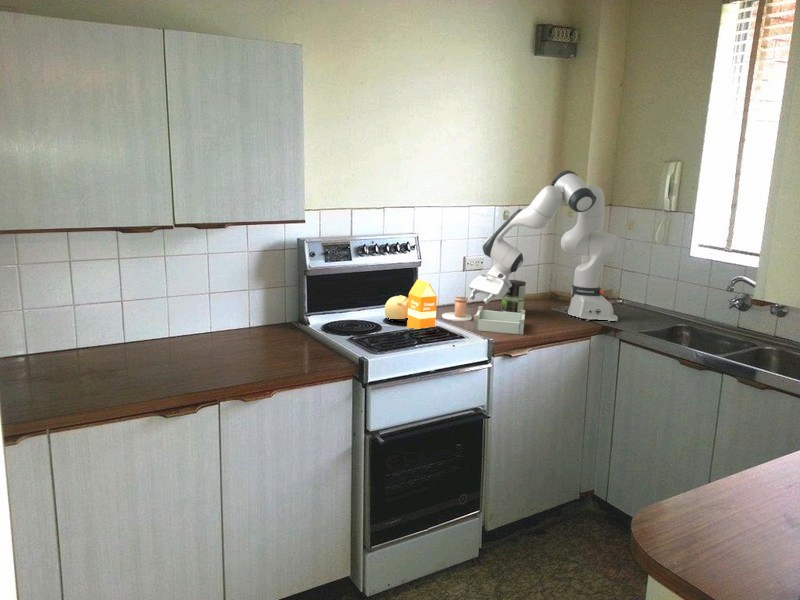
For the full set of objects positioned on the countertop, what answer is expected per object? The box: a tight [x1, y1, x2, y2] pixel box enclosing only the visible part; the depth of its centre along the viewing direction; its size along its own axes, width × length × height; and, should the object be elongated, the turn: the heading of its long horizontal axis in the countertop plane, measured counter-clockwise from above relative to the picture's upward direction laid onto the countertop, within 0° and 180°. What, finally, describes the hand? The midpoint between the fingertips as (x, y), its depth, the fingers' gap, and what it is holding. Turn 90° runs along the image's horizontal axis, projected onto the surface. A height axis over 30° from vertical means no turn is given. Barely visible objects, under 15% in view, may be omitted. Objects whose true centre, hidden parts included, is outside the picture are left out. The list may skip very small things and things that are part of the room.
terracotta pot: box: [453, 296, 468, 318], centre depth 293 cm, size 6×6×8 cm
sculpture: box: [384, 294, 409, 320], centre depth 284 cm, size 11×12×11 cm
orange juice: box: [406, 279, 438, 329], centre depth 267 cm, size 8×9×20 cm
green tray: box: [472, 305, 526, 335], centre depth 281 cm, size 20×20×6 cm
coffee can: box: [500, 279, 527, 313], centre depth 312 cm, size 10×10×14 cm
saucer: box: [441, 311, 473, 322], centre depth 295 cm, size 13×13×1 cm
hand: (477, 300), depth 300 cm, fingers open, 8 cm apart
